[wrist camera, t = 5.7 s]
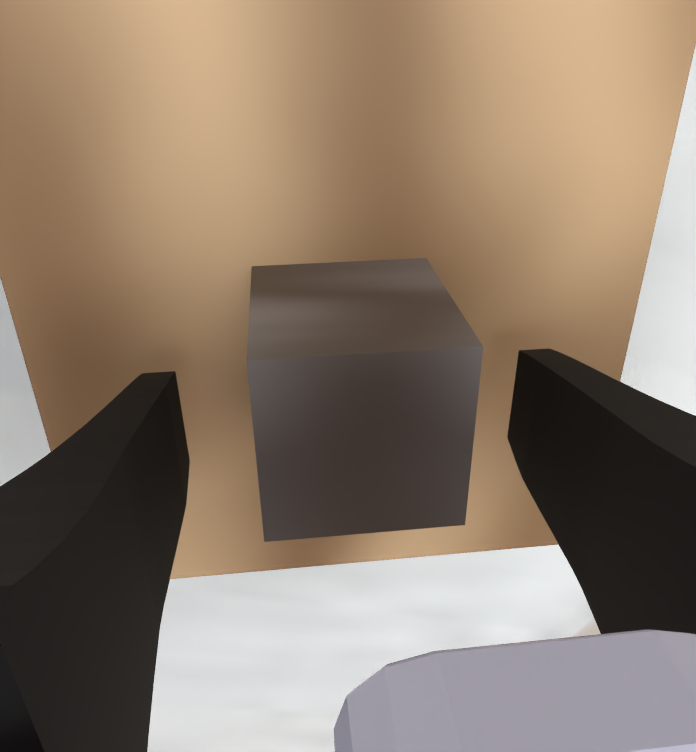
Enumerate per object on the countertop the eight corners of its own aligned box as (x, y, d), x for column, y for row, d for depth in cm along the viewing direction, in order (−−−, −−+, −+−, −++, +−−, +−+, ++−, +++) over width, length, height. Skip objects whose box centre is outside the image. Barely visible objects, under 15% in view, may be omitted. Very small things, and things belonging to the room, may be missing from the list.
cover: (98, 557, 17) (42, 739, 13) (-56, -10, 11) (-265, -23, 7) (569, 517, 18) (661, 672, 14) (677, -17, 12) (907, -32, 8)
